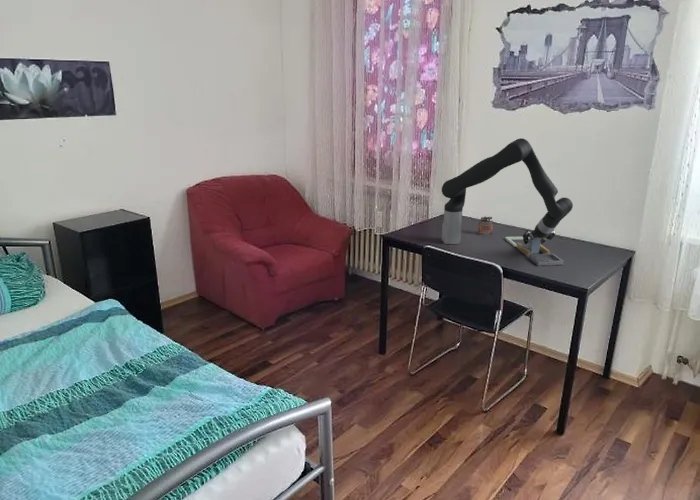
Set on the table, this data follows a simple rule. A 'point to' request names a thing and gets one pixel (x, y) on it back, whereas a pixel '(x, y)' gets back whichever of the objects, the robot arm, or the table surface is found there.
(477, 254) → the table surface
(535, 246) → the block
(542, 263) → the tray
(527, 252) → the rail channel
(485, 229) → the lighter
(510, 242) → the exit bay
